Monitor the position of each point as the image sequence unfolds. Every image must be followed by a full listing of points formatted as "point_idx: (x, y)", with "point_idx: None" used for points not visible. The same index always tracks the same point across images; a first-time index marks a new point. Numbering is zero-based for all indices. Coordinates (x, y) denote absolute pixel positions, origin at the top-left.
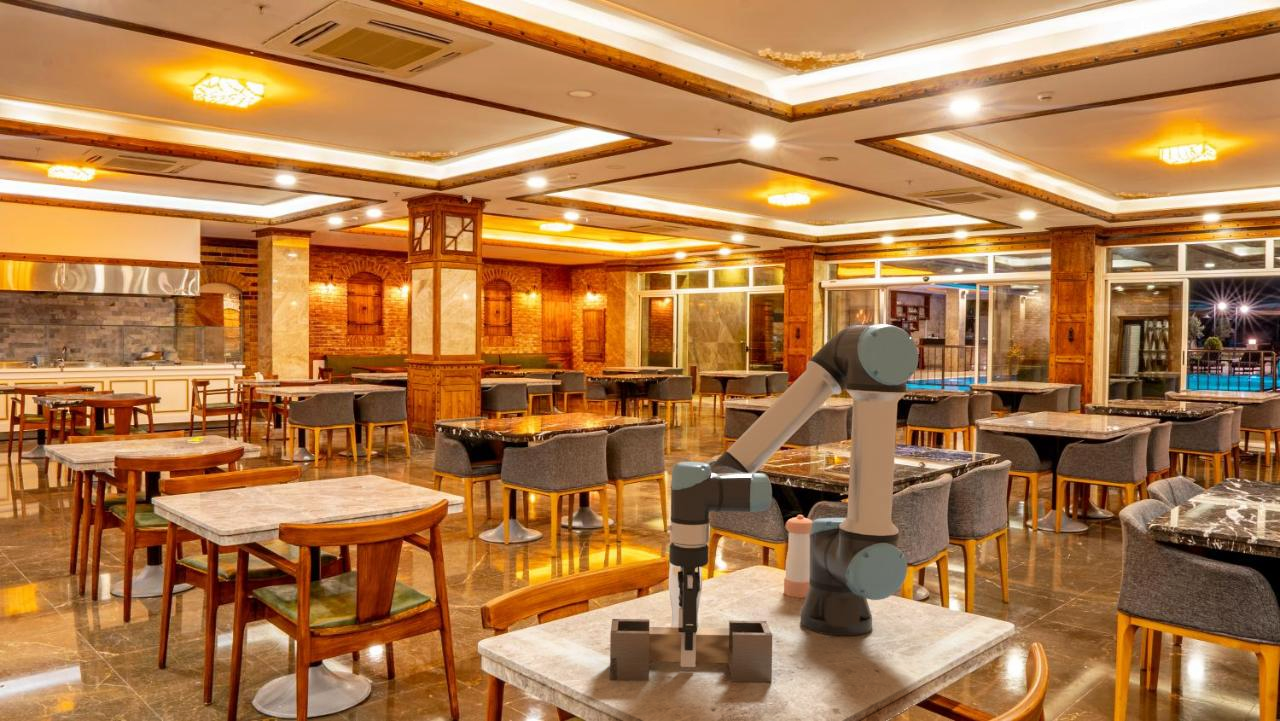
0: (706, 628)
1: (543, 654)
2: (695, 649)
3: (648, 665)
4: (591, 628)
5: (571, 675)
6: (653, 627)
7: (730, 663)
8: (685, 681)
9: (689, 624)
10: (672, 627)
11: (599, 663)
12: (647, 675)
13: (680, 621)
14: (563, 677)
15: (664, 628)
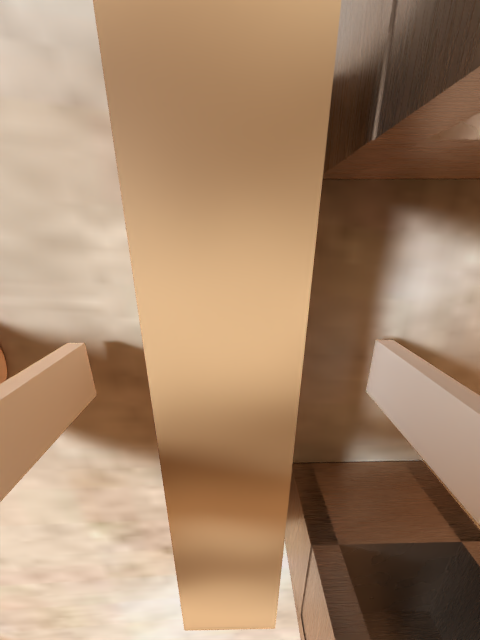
0: (151, 316)
1: (227, 634)
2: (457, 382)
3: (461, 511)
4: (20, 585)
5: None
6: (183, 573)
7: (453, 166)
8: (455, 365)
9: (21, 404)
10: (169, 507)
11: None
12: (433, 478)
13: (23, 464)
14: None
15: (192, 537)
